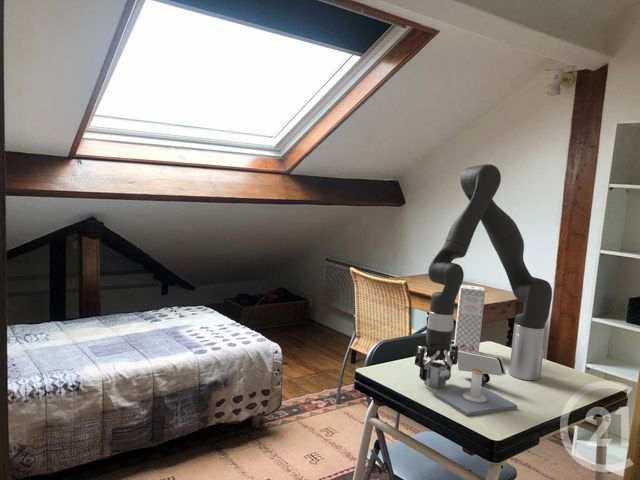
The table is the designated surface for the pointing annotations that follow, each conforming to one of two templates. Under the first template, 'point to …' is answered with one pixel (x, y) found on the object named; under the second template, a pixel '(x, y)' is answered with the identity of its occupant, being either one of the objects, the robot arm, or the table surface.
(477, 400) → the panel
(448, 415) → the table surface
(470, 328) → the box
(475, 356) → the bracket
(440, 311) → the robot arm
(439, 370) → the grey octagonal hollow block
